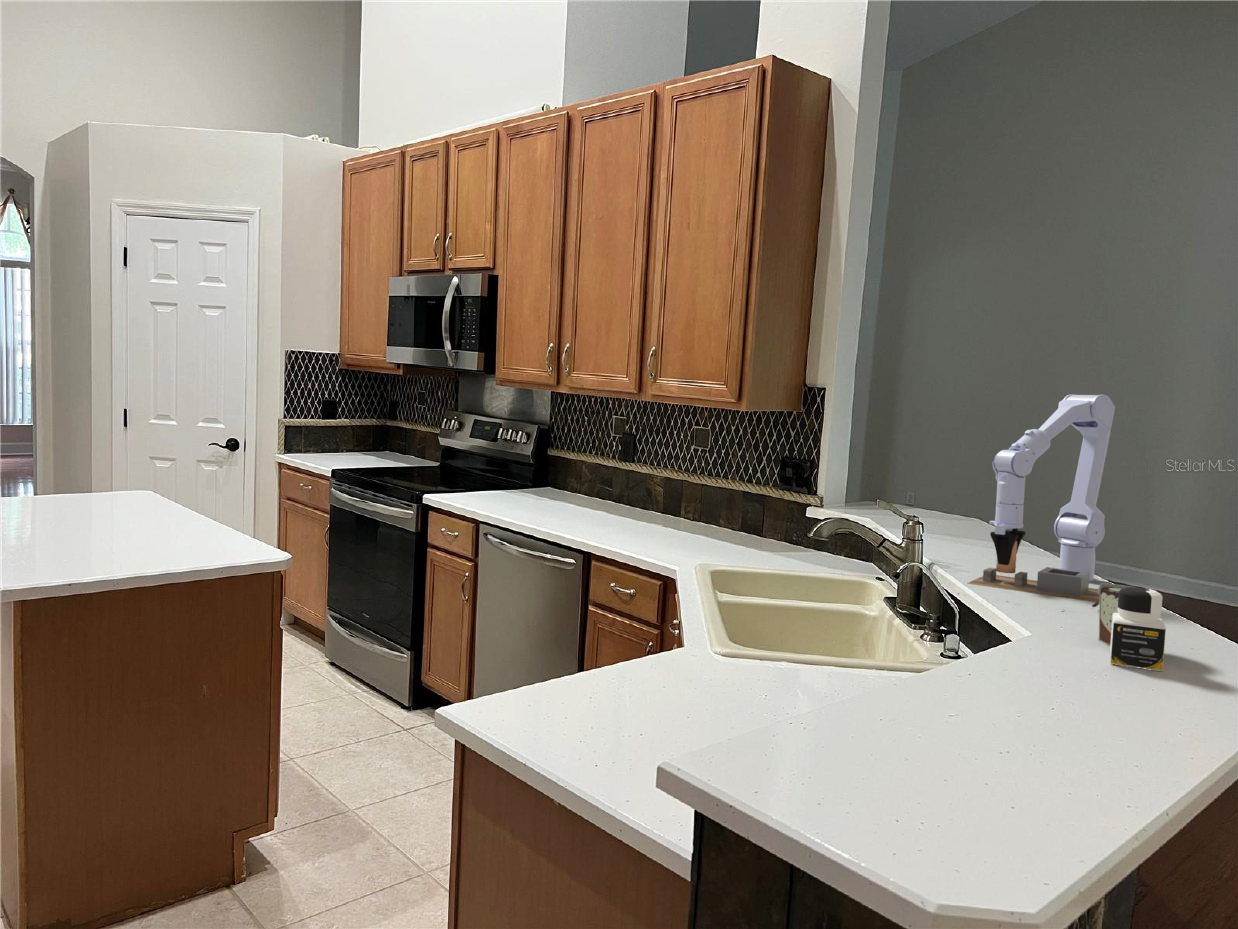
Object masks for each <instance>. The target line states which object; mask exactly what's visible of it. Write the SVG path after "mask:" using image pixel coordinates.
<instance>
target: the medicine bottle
mask: <svg viewBox="0 0 1238 929" xmlns="http://www.w3.org/2000/svg"><path fill="white" fill-rule="evenodd" d="M1162 608H1163V595H1162V594H1161V593H1160V592H1158V591H1157V590H1154V589H1150V588H1145V587H1138V586H1137V587H1136V586H1131V587H1126V588H1123V589H1121V590H1120V591H1119V596H1118V610H1117V612H1119V613H1113V616H1112V629H1111V643H1110V646H1109V660H1110V661H1109V664H1110V665H1112V664H1115V665H1114V666H1117V665H1122V666H1121V667H1124V666H1128V667H1127V668H1131V667H1140V668H1146V669H1151V670H1156V671H1155V672H1158V671H1161V672H1163V669H1164V656H1165V645H1166V631H1167V629H1166V625H1165V622H1164V620H1163V618H1162ZM1151 670H1150V671H1151Z"/></svg>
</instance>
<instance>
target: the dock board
mask: <svg viewBox="0 0 1238 929" xmlns="http://www.w3.org/2000/svg"><path fill="white" fill-rule="evenodd" d="M1028 574H1029V573H1028V572H1026V571H1018V572H1016V573H1014V577H1013V576H1012V577H1011V576H1005V575H1000V574H997V571H996V567H987V568H985V569H983V575H981V576H980V577H977V578H976V579H973V580H970V581H968V582H966V584H967V585H968V584H969V585H976V586H983V587H989V588H995V589H1003V590H1009V591H1015V592H1016V591H1017V592H1024V593H1030V594H1038V595H1043V596H1044V595H1045V596H1052V597H1056V598H1057V597H1058V598H1065V599H1066V598H1067V599H1071V600H1079V601H1085V602H1086V601H1087V602H1093V603H1094V604H1093V605H1091V607H1094V608H1095V607H1096V608H1097V606H1099V599H1100V594H1098V589H1099V588H1093V587H1088V591H1087V592H1086V593H1084V594H1083V595H1082V596H1073V595H1066V594H1059V593H1052V592H1045V591H1038V590H1037V579H1036V580H1034V579H1028Z"/></svg>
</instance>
